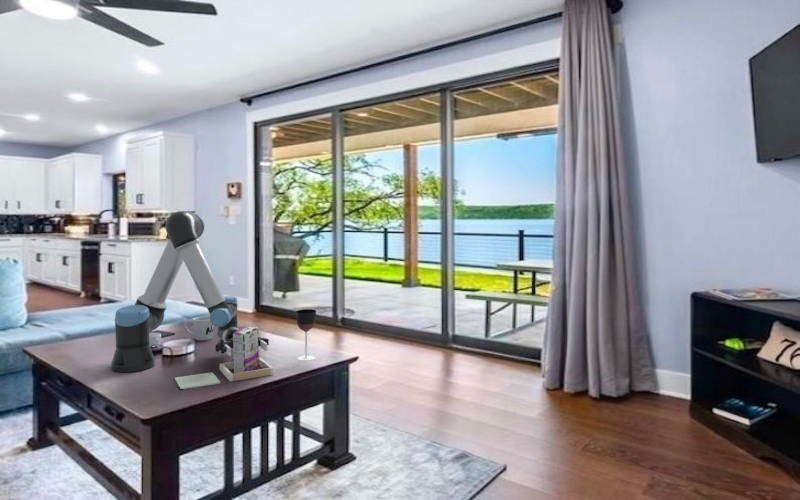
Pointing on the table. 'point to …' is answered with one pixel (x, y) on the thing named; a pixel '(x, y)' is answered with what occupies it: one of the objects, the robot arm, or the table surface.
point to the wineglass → (306, 326)
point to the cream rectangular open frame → (247, 374)
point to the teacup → (154, 339)
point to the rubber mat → (197, 380)
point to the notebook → (163, 333)
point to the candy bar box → (246, 350)
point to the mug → (201, 328)
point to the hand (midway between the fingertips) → (248, 349)
